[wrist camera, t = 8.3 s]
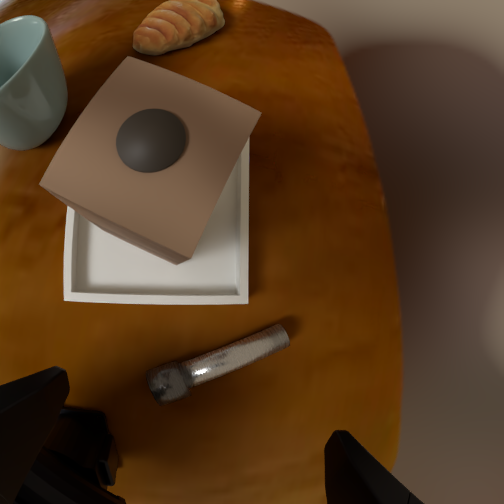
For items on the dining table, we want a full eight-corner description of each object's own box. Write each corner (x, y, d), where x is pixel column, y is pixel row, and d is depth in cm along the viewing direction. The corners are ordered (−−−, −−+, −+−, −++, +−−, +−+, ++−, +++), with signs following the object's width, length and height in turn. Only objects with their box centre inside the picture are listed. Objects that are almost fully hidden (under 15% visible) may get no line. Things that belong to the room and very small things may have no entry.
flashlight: (161, 396, 20) (161, 412, 17) (146, 366, 20) (144, 378, 17) (283, 347, 23) (298, 356, 20) (273, 317, 23) (287, 322, 20)
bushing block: (176, 265, 21) (191, 258, 9) (103, 230, 19) (37, 183, 7) (210, 192, 22) (263, 111, 10) (140, 159, 20) (127, 53, 9)
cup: (33, 80, 18) (1, 13, 8) (92, 95, 19) (70, 16, 10) (-10, 150, 16) (-66, 101, 7) (46, 174, 18) (-11, 118, 9)
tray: (71, 298, 18) (64, 300, 17) (87, 132, 19) (82, 122, 18) (241, 301, 22) (248, 303, 21) (243, 139, 23) (249, 130, 21)
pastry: (162, 72, 22) (165, 46, 18) (116, 43, 20) (114, 18, 17) (227, 29, 24) (236, 5, 20) (182, 4, 23) (187, -20, 19)
